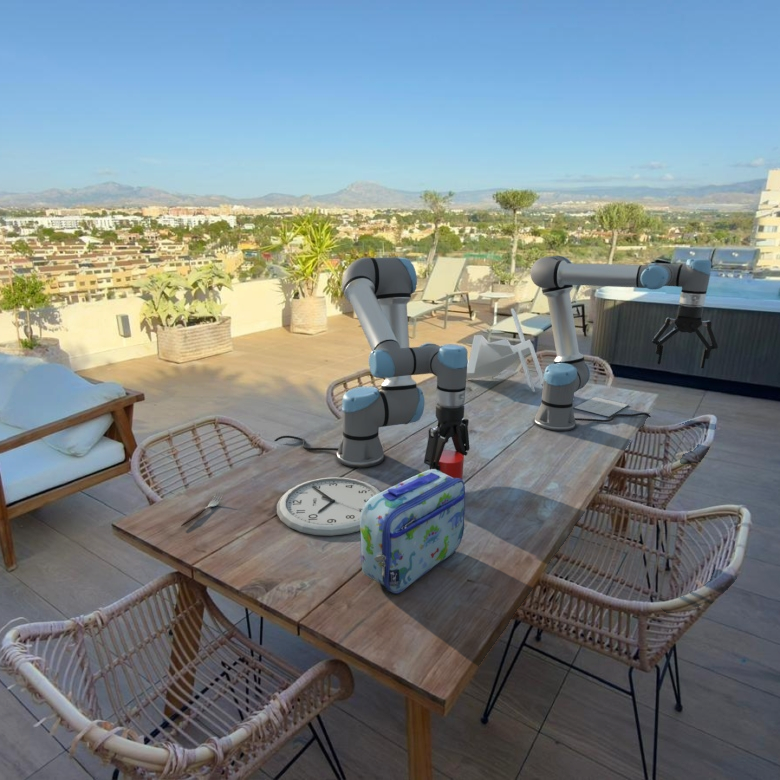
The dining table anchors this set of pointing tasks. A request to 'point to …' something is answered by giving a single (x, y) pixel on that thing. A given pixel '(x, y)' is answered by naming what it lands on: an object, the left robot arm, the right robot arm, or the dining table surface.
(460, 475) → the tin
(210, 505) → the fork
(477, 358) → the white plastic object
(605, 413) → the invitation card
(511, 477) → the dining table surface
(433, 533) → the lunch box
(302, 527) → the wall clock
